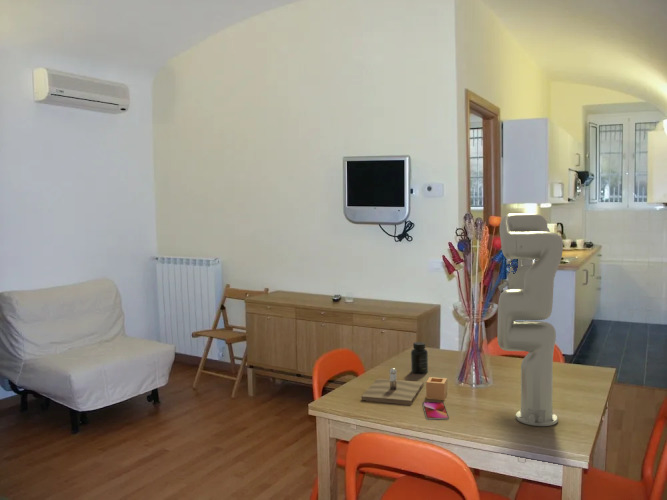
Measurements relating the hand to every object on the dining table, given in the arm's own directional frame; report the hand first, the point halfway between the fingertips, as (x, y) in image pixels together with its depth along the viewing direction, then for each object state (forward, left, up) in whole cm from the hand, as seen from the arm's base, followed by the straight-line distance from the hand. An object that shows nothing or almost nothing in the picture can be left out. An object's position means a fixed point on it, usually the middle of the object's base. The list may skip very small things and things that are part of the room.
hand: (521, 307), depth 225 cm
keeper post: (-26, +44, -27) cm, 58 cm away
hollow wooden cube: (-26, +28, -29) cm, 48 cm away
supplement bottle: (+3, +40, -29) cm, 50 cm away
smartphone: (-41, +26, -29) cm, 57 cm away
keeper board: (-26, +44, -29) cm, 59 cm away
